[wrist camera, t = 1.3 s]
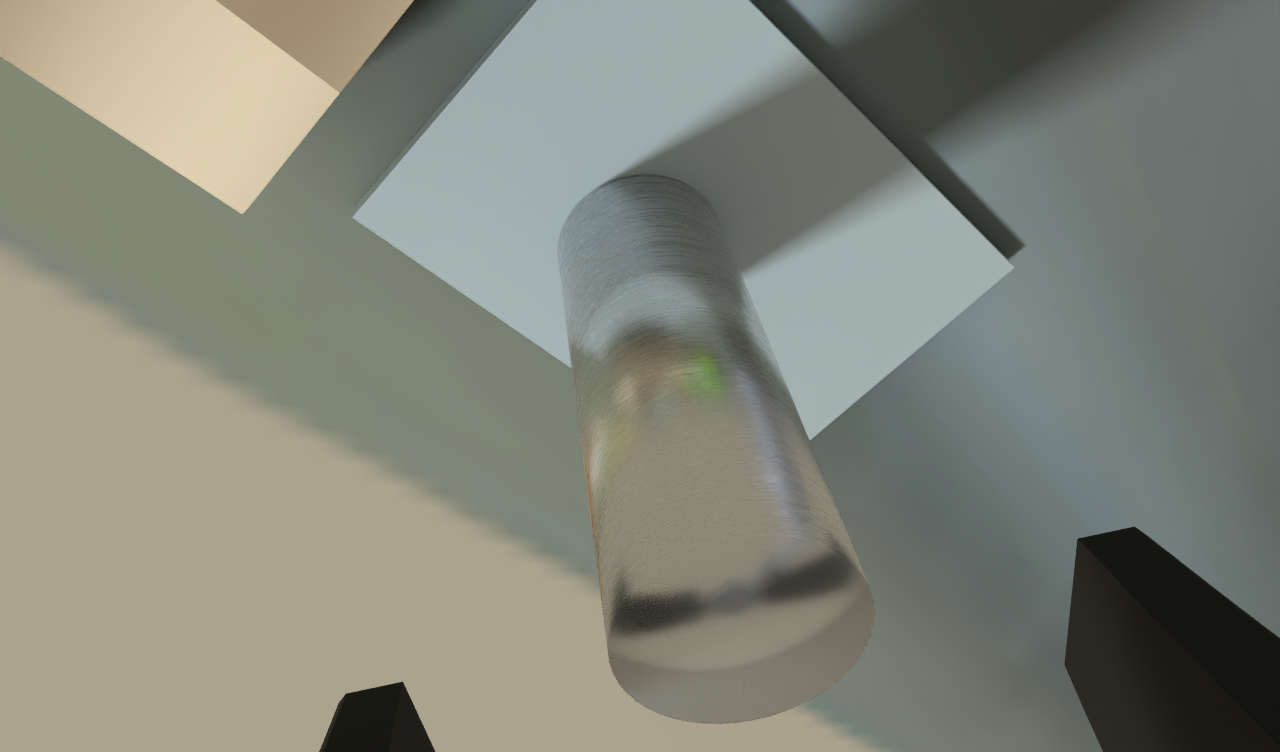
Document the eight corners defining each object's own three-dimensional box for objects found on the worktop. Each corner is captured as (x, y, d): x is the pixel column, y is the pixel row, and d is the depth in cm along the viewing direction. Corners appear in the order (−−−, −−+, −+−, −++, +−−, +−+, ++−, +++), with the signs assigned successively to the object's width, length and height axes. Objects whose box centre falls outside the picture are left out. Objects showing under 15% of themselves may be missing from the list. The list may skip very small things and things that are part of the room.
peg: (751, 204, 19) (923, 568, 12) (683, 340, 20) (798, 740, 13) (593, 150, 18) (673, 511, 11) (533, 297, 20) (568, 702, 12)
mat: (1006, 257, 21) (1014, 267, 20) (745, 478, 23) (749, 490, 23) (631, -120, 16) (634, -115, 16) (354, 206, 19) (352, 218, 18)
